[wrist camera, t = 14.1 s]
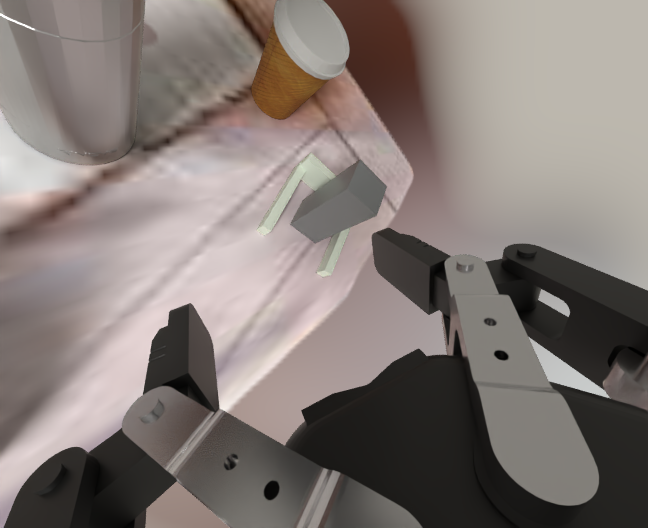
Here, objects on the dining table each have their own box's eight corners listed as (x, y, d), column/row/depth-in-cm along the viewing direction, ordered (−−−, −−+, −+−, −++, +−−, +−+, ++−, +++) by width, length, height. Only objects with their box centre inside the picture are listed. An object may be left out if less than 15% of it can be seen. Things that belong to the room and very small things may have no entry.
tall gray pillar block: (315, 243, 39) (376, 215, 30) (290, 224, 38) (347, 188, 28) (326, 218, 42) (387, 185, 32) (303, 199, 40) (360, 158, 30)
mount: (322, 277, 39) (340, 272, 36) (256, 230, 35) (270, 220, 31) (349, 213, 45) (367, 204, 41) (295, 165, 40) (310, 151, 37)
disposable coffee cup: (301, 87, 44) (351, 19, 34) (300, 140, 42) (353, 83, 32) (241, 54, 38) (281, -38, 29) (237, 112, 36) (278, 35, 27)
